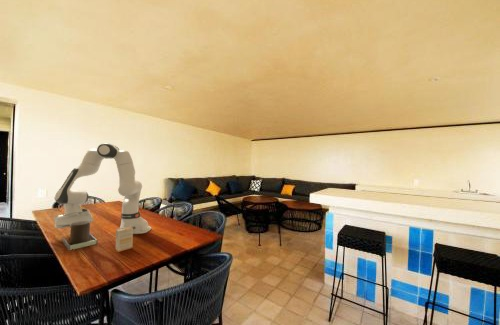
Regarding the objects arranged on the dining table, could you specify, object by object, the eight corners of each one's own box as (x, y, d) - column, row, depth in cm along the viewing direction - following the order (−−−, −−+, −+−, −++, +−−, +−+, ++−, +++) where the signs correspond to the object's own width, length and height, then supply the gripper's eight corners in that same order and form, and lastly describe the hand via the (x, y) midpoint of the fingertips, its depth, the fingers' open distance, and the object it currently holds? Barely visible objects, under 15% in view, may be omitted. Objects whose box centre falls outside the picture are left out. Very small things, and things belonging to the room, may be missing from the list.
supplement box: (129, 246, 131) (130, 225, 131) (132, 248, 128) (133, 227, 128) (115, 250, 124) (115, 228, 124) (117, 252, 121) (118, 230, 121)
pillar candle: (77, 247, 125) (78, 223, 126) (65, 245, 128) (67, 221, 128) (92, 242, 135) (94, 219, 135) (82, 240, 137) (83, 218, 138)
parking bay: (62, 241, 134) (62, 237, 134) (88, 235, 145) (89, 232, 145) (68, 250, 121) (68, 246, 121) (97, 243, 132) (97, 239, 132)
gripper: (54, 213, 137) (56, 231, 130) (91, 208, 153) (94, 224, 146) (52, 218, 139) (54, 236, 133) (89, 213, 155) (92, 229, 149)
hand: (76, 230), depth 140 cm, fingers closed
